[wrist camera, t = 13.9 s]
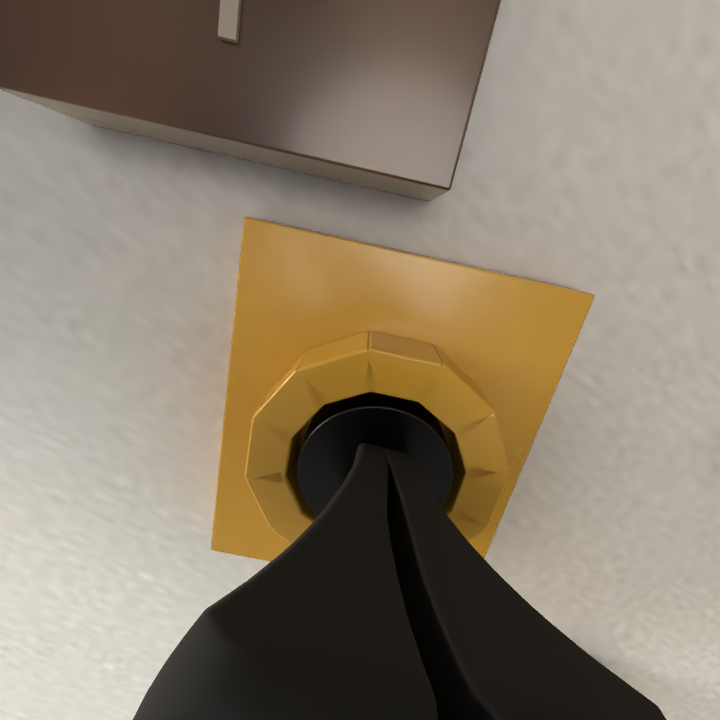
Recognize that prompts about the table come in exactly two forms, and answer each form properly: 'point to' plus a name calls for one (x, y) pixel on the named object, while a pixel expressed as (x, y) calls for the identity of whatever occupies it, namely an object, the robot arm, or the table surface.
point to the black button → (376, 427)
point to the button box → (380, 371)
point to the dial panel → (265, 78)
